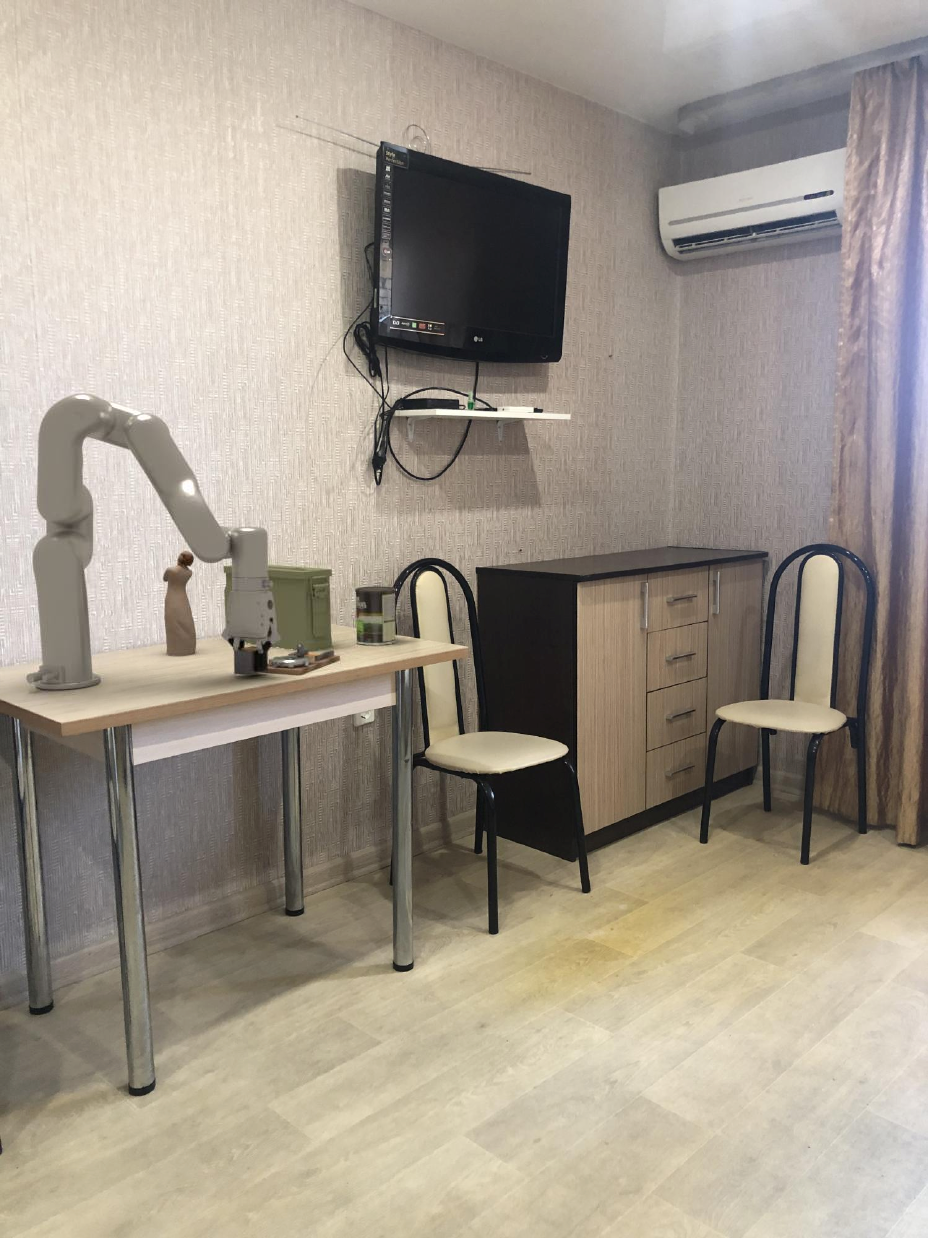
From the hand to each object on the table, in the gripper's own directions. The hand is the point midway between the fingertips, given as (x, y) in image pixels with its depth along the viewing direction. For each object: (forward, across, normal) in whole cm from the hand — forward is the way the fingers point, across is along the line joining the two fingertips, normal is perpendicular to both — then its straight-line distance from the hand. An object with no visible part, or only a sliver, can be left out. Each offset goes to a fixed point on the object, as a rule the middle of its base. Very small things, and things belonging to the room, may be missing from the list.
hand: (251, 669), depth 213 cm
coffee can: (+1, -7, -49) cm, 49 cm away
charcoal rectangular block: (+1, 0, 0) cm, 1 cm away
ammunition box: (+2, +16, -40) cm, 43 cm away
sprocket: (0, -4, -10) cm, 11 cm away
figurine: (+2, +32, -20) cm, 38 cm away
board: (+1, -4, -14) cm, 15 cm away
